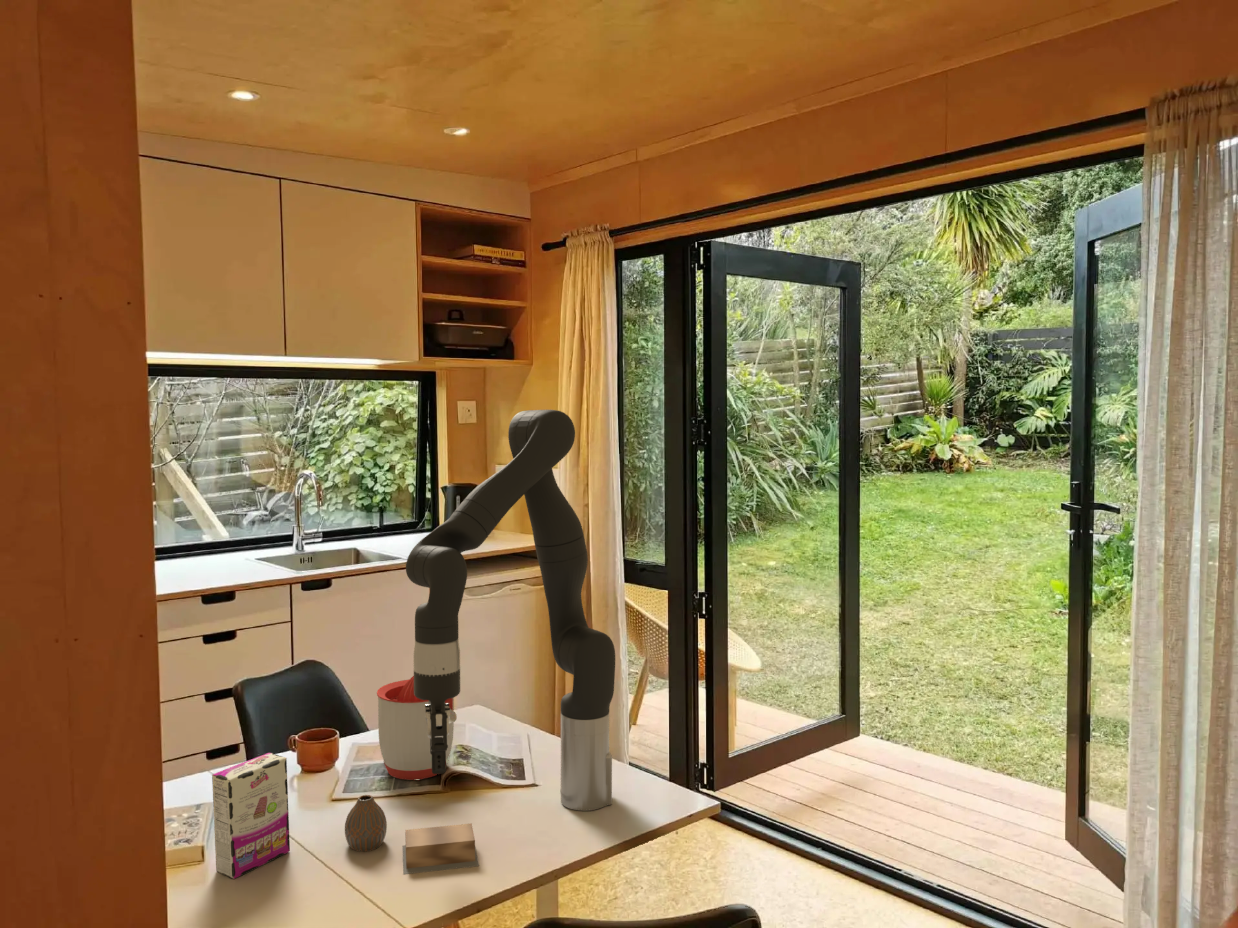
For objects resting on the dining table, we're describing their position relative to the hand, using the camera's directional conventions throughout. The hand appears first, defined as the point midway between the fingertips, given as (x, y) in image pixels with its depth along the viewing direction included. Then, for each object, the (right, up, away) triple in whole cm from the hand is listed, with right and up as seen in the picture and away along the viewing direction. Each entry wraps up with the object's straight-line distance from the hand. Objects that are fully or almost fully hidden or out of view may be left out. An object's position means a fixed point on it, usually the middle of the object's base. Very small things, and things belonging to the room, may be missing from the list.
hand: (437, 762), depth 157 cm
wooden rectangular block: (0, -16, +1) cm, 16 cm away
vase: (-13, -16, +5) cm, 21 cm away
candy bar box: (-30, -16, 0) cm, 34 cm away
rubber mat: (0, -16, +1) cm, 16 cm away
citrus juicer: (-11, -14, +38) cm, 42 cm away
